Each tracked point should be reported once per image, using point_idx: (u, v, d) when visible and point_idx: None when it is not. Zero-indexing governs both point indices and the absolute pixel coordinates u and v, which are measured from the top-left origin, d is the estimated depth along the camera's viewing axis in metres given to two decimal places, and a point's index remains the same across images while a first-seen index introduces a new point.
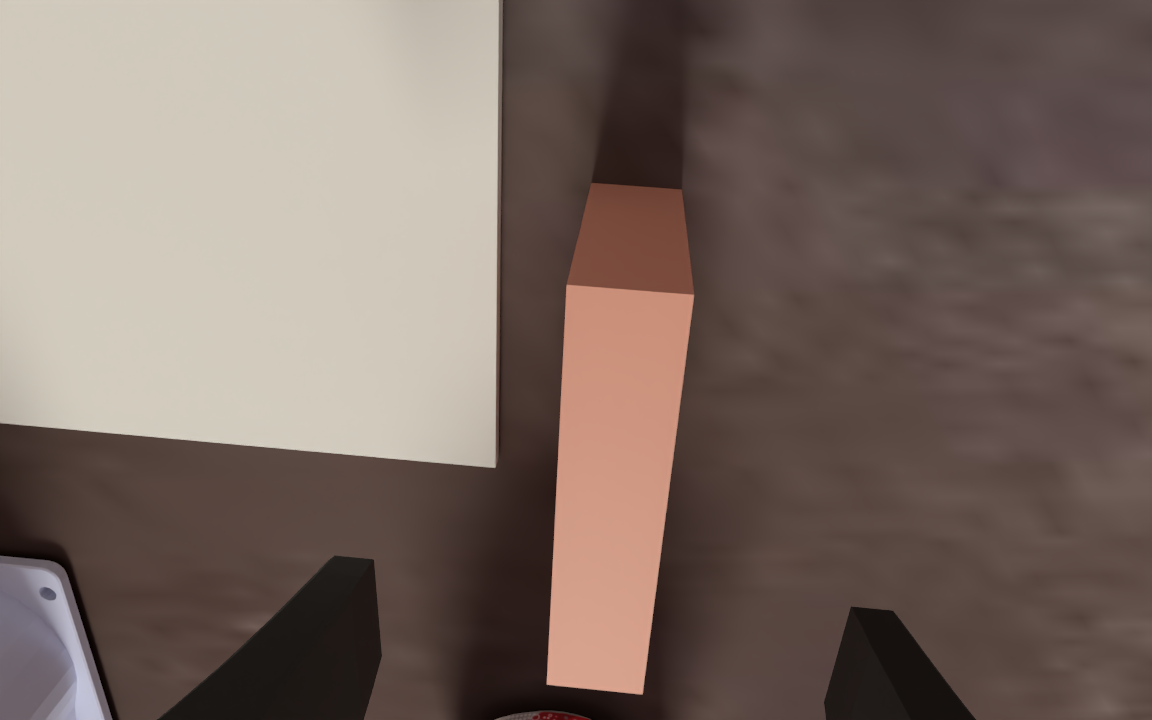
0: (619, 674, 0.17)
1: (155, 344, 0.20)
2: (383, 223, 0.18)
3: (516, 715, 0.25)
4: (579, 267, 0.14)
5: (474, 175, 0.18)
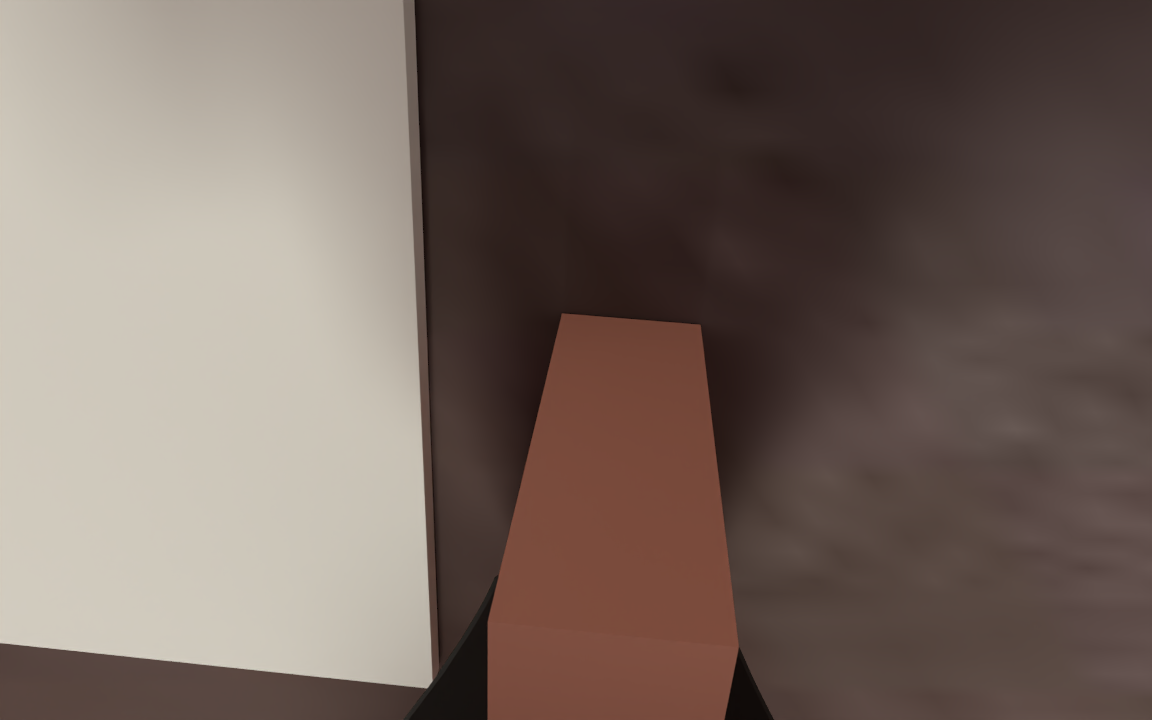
0: None
1: None
2: (249, 371, 0.12)
3: None
4: (520, 558, 0.07)
5: (381, 305, 0.11)
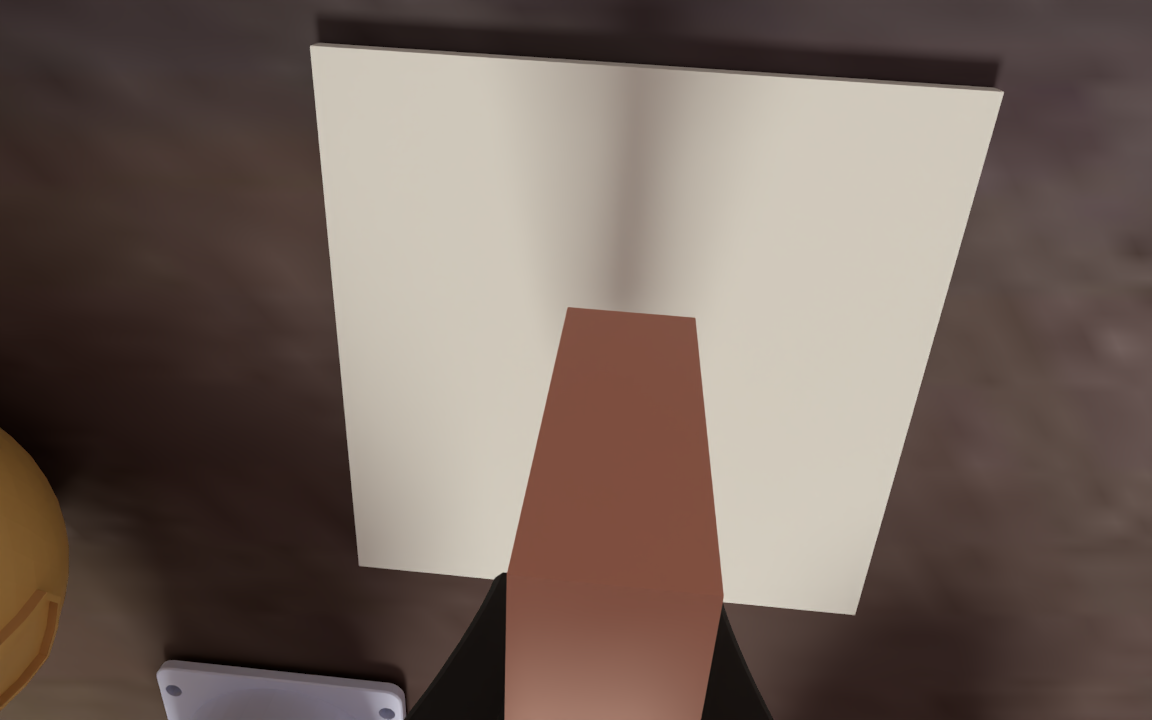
0: None
1: None
2: (803, 410, 0.20)
3: None
4: (534, 521, 0.08)
5: (901, 372, 0.19)
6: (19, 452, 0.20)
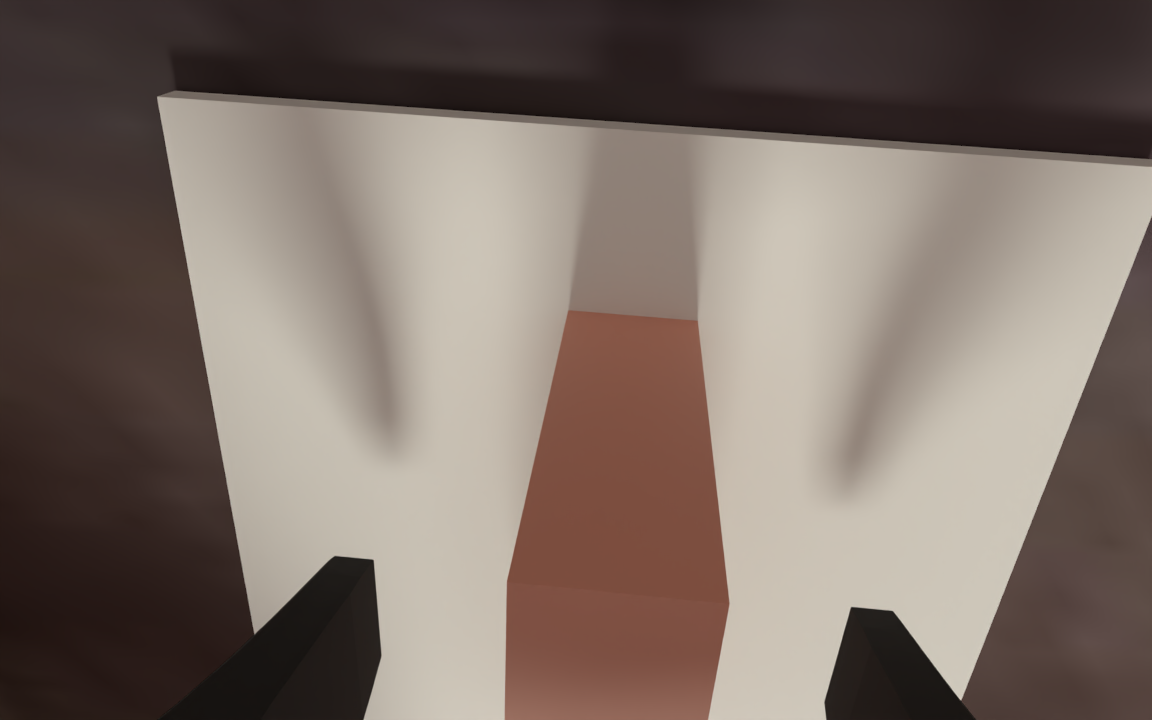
0: None
1: None
2: (856, 580, 0.15)
3: None
4: (534, 527, 0.08)
5: (994, 536, 0.14)
6: None
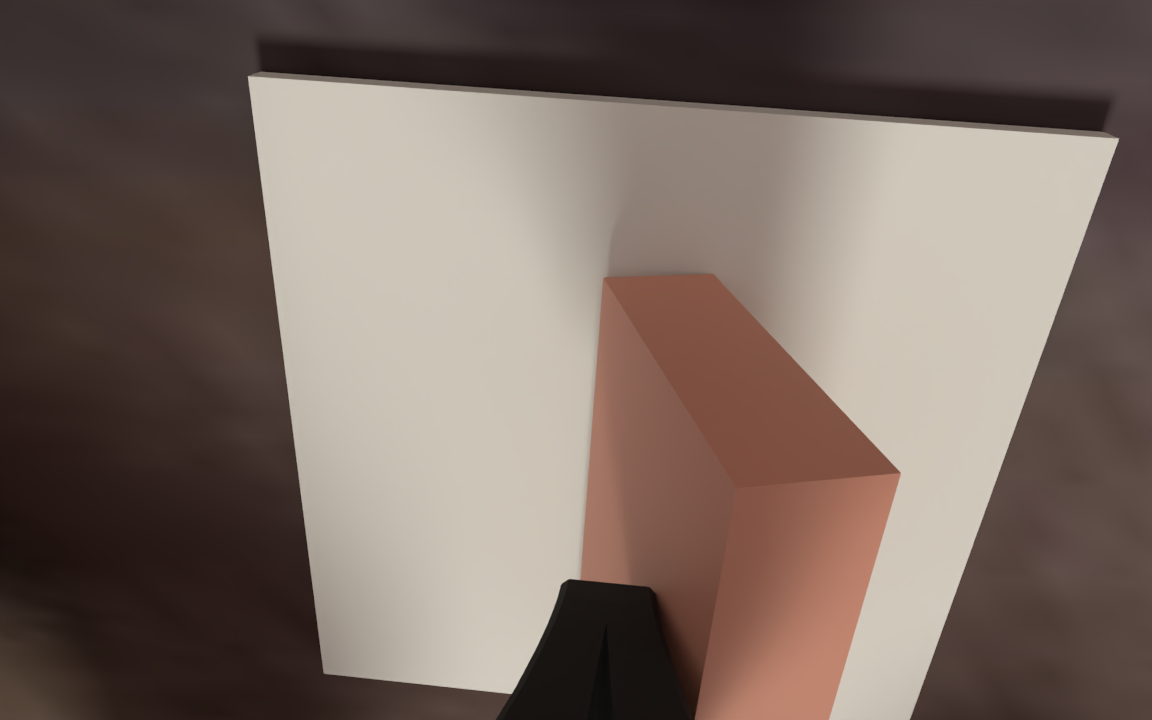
0: None
1: (550, 612, 0.18)
2: None
3: None
4: (722, 446, 0.10)
5: (972, 469, 0.16)
6: None
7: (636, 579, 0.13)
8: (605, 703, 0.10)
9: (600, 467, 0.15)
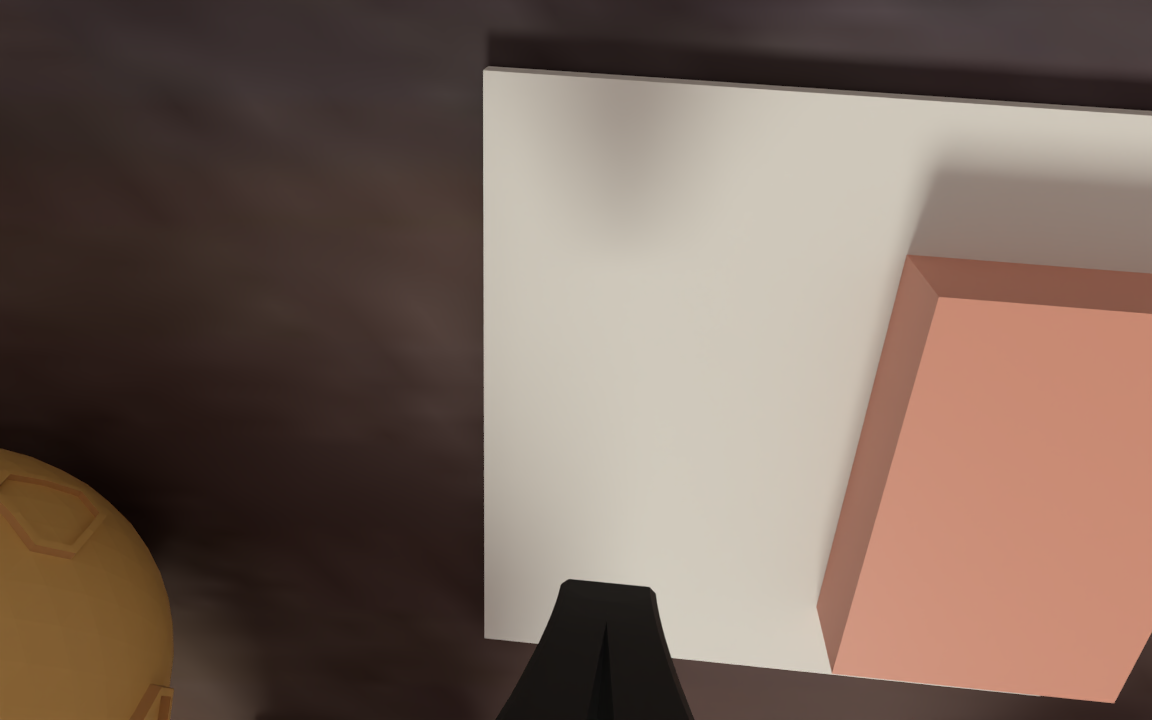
0: None
1: (711, 577, 0.20)
2: None
3: None
4: None
5: None
6: (122, 522, 0.18)
7: (1065, 496, 0.15)
8: (605, 703, 0.10)
9: (934, 467, 0.15)
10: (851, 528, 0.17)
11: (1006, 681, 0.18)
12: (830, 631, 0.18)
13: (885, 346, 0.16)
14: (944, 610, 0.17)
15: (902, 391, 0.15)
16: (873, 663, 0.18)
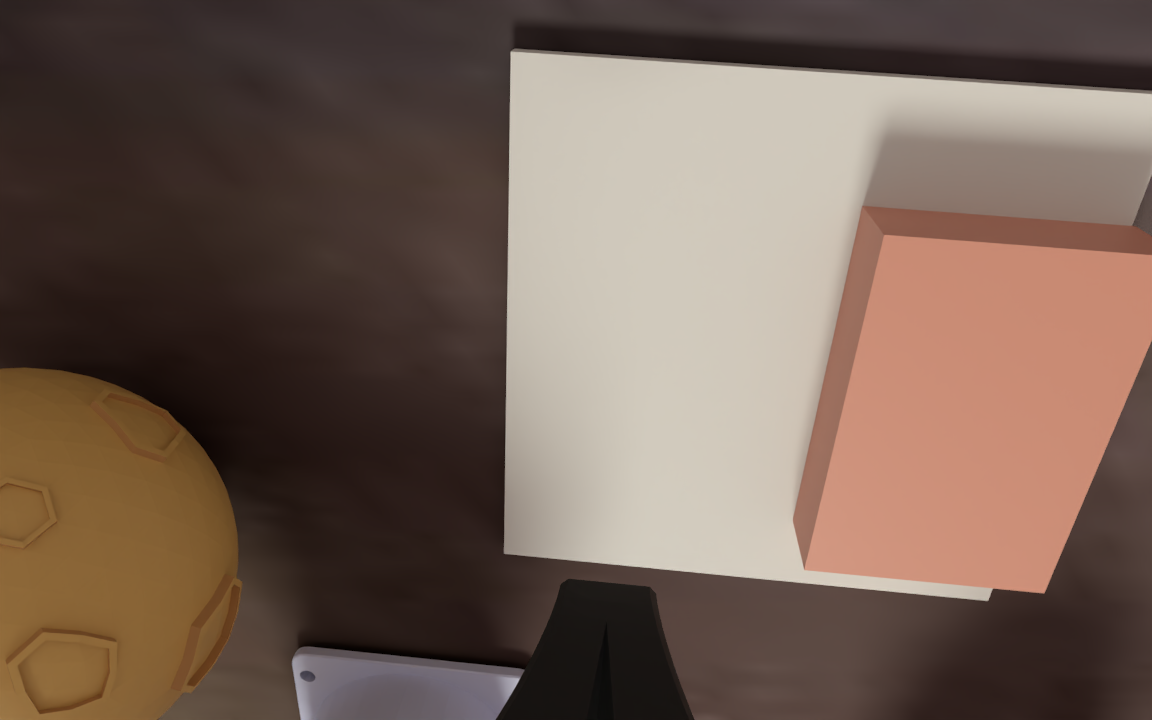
0: None
1: (701, 494, 0.23)
2: None
3: None
4: (1142, 252, 0.17)
5: None
6: (196, 442, 0.21)
7: (994, 406, 0.18)
8: (605, 703, 0.10)
9: (885, 382, 0.18)
10: (819, 443, 0.21)
11: (952, 574, 0.21)
12: (803, 535, 0.21)
13: (846, 285, 0.19)
14: (897, 510, 0.20)
15: (858, 318, 0.18)
16: (839, 560, 0.21)
